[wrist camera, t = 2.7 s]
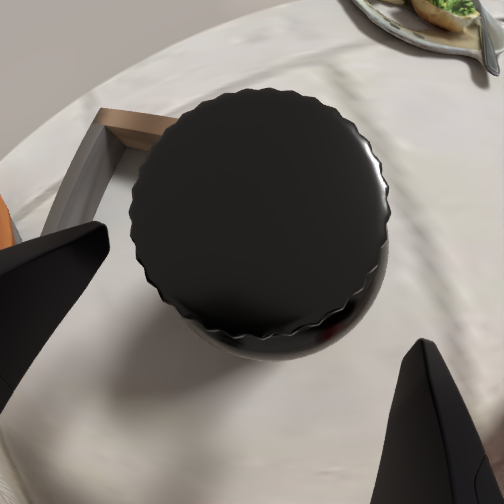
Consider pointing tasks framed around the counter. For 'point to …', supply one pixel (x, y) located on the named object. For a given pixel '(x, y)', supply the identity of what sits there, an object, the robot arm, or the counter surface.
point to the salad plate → (447, 28)
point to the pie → (7, 228)
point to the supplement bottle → (263, 223)
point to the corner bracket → (100, 163)
